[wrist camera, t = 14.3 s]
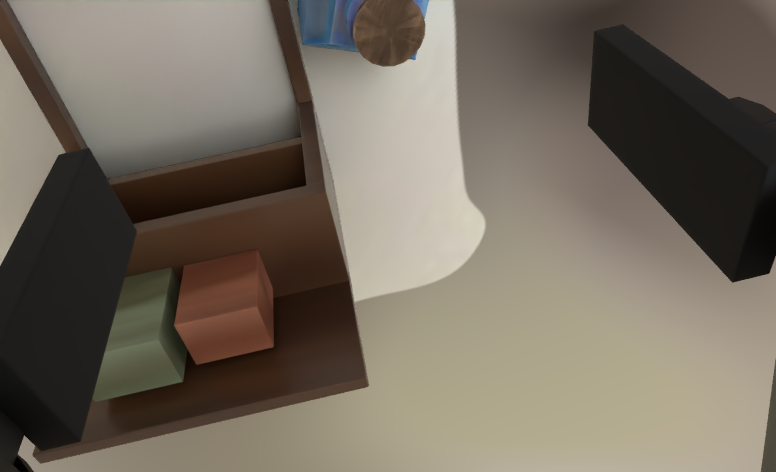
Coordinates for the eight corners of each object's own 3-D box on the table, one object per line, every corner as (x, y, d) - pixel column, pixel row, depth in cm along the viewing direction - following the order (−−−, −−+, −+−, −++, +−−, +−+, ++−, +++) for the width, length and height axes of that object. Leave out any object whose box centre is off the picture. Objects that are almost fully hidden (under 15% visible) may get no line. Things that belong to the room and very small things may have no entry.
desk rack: (-41, -49, 31) (-323, 107, 16) (260, -110, 31) (256, -13, 17) (118, 229, 43) (41, 465, 28) (333, 181, 43) (369, 388, 29)
